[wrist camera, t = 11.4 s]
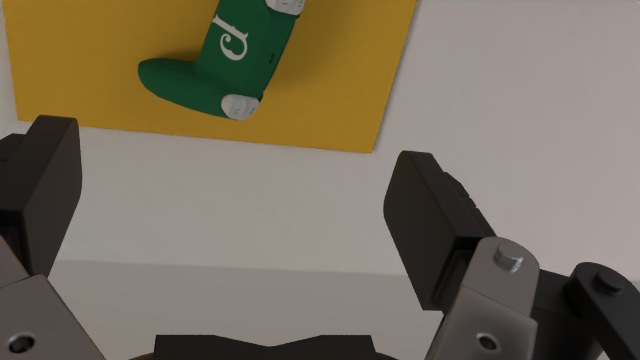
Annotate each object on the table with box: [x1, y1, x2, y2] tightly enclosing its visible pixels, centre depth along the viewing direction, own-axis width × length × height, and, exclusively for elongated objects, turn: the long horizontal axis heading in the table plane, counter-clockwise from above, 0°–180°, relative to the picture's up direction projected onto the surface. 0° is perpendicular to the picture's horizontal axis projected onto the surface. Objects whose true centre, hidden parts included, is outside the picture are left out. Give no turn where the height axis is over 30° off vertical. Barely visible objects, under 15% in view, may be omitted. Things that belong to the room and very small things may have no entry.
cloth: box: [2, 0, 417, 153], centre depth 25 cm, size 20×14×1 cm
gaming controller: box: [138, 0, 305, 120], centre depth 24 cm, size 9×4×6 cm
